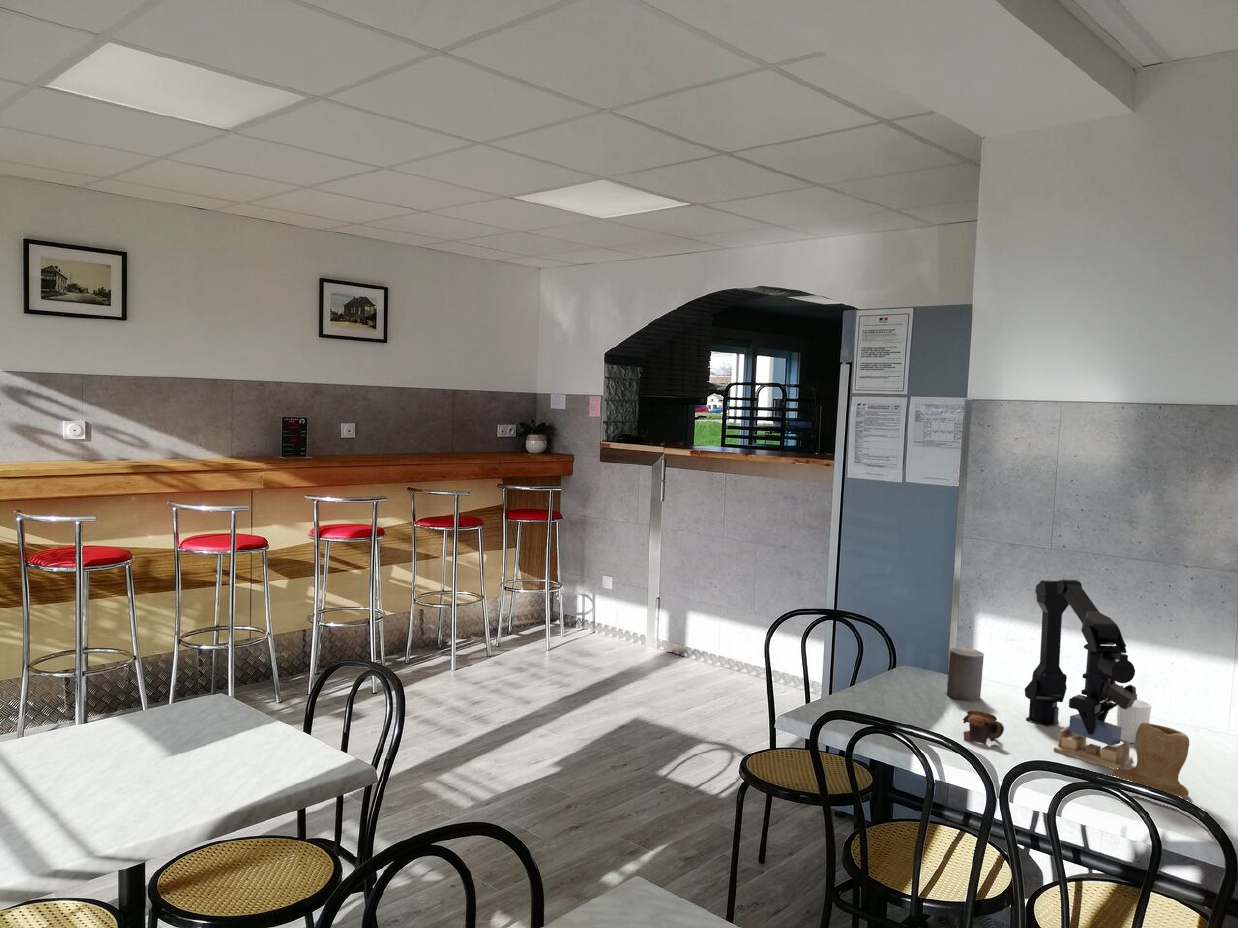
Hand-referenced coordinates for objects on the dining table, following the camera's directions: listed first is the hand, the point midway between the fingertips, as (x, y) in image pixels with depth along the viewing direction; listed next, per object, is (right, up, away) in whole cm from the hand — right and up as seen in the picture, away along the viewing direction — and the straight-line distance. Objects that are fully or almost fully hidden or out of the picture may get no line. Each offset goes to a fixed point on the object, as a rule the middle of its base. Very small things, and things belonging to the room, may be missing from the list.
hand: (1094, 732), depth 231 cm
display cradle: (0, -6, 0) cm, 6 cm away
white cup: (+17, -6, +14) cm, 23 cm away
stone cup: (+2, -8, -20) cm, 21 cm away
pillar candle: (-15, -3, +47) cm, 49 cm away
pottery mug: (-24, -5, +9) cm, 26 cm away
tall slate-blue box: (0, -1, 0) cm, 1 cm away
